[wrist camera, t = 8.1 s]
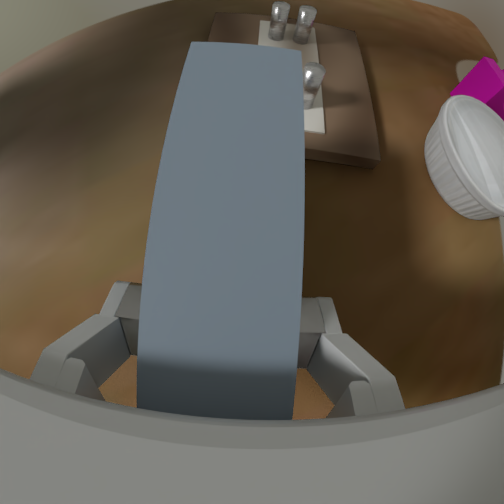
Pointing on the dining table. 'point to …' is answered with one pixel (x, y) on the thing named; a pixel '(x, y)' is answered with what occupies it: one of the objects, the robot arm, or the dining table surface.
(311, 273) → the dining table surface
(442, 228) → the dining table surface
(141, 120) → the dining table surface
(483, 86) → the toy block
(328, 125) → the peg stand
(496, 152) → the ramekin
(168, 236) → the slate block
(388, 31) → the dining table surface
